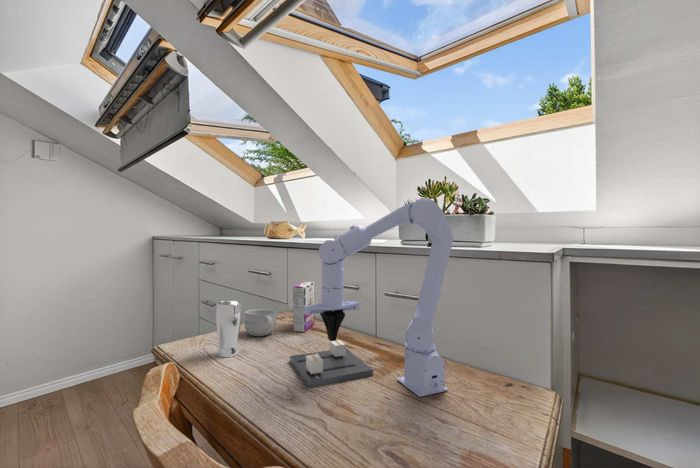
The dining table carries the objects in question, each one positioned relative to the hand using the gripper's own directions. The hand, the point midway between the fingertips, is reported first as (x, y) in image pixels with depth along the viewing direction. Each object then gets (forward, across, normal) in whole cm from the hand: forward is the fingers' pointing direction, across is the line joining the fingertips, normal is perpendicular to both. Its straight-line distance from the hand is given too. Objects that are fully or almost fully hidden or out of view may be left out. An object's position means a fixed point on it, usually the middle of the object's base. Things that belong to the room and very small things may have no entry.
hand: (332, 339), depth 87 cm
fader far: (+6, -4, -6) cm, 10 cm away
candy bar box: (+8, -5, -40) cm, 42 cm away
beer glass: (+8, +23, -24) cm, 34 cm away
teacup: (+8, +11, -38) cm, 40 cm away
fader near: (+6, +5, +2) cm, 8 cm away
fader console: (+8, 0, -2) cm, 9 cm away
